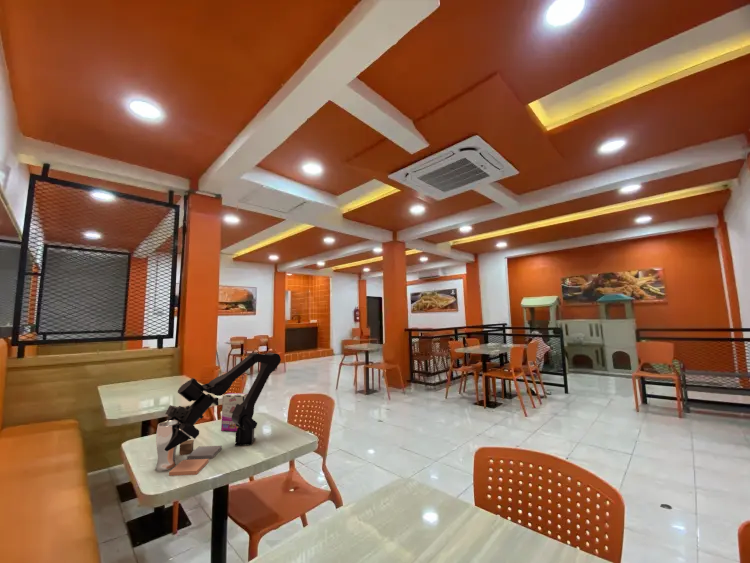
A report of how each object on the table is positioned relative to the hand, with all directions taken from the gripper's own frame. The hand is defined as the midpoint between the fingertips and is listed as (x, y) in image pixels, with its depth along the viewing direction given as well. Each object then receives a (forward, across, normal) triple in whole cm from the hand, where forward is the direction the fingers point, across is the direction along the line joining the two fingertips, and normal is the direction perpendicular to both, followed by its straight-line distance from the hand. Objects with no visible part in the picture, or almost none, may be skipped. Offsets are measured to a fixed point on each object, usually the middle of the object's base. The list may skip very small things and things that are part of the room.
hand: (162, 447), depth 112 cm
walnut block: (-2, -8, +12) cm, 15 cm away
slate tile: (-6, -1, +15) cm, 16 cm away
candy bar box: (-19, -18, +29) cm, 39 cm away
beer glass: (+4, 0, +6) cm, 7 cm away
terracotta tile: (0, +8, +10) cm, 12 cm away
